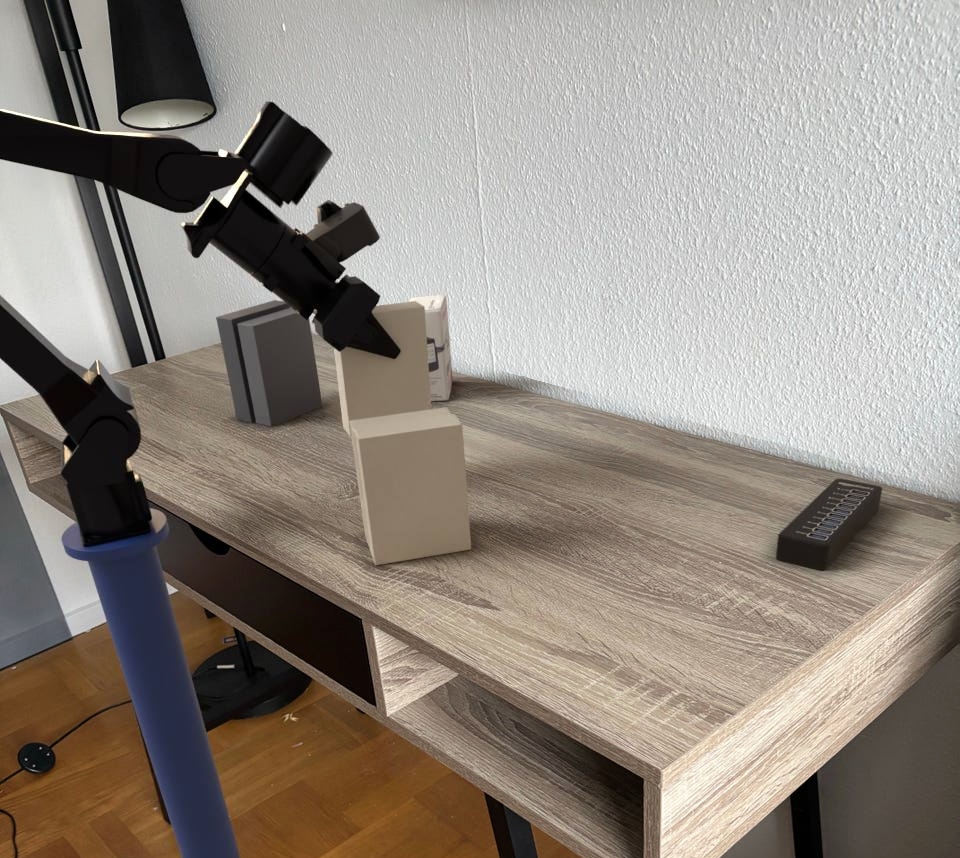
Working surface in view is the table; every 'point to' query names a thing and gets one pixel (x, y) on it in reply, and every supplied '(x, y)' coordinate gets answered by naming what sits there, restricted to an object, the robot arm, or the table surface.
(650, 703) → the table surface
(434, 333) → the ink box
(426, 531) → the white books
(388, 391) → the white book
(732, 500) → the table surface
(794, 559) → the multiport hub
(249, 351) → the grey books
